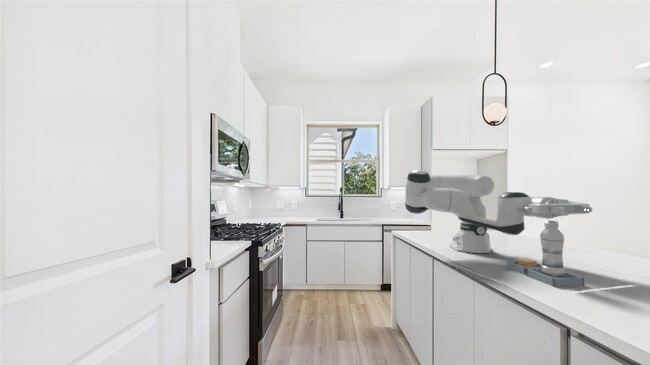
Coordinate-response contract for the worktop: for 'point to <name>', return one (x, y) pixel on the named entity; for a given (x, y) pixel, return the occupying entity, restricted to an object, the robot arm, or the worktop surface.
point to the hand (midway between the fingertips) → (577, 209)
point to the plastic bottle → (552, 250)
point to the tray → (556, 279)
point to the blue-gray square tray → (520, 267)
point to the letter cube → (527, 263)
